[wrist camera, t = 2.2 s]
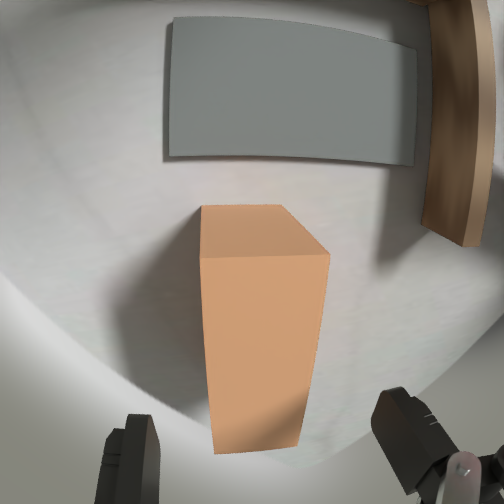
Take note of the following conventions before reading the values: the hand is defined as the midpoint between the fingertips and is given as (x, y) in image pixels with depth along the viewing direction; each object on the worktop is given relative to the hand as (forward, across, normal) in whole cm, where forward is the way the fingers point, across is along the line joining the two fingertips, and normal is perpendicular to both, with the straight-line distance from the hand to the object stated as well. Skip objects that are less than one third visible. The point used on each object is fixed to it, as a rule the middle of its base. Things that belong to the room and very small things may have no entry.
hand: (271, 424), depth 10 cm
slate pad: (+9, -3, -11) cm, 15 cm away
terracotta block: (+9, 0, 0) cm, 9 cm away
